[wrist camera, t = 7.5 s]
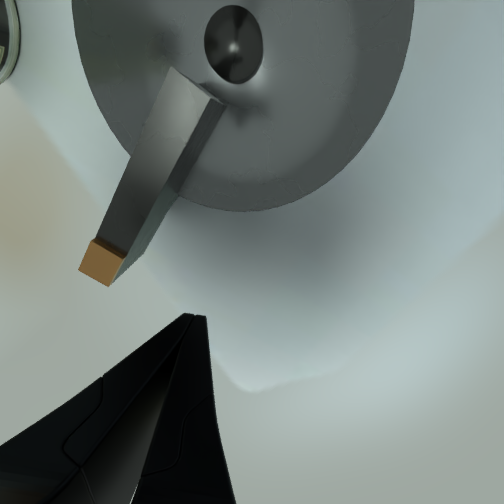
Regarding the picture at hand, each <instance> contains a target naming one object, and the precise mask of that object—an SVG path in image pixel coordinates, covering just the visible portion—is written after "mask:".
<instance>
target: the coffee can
mask: <svg viewBox="0 0 504 504" xmlns="http://www.w3.org/2000/svg"><path fill="white" fill-rule="evenodd" d="M18 52H19V22H18V16H17V11H16V7H15V2H14V0H0V84H1V83H3V82H4V81H5V80H6V79H7V78H8V76H9V75H10V73H11V72H12V70H13V68H14V65H15V62H16V59H17V56H18Z"/></svg>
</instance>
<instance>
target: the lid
mask: <svg viewBox="0 0 504 504" xmlns="http://www.w3.org/2000/svg"><path fill="white" fill-rule="evenodd" d="M72 12H73V20H74V28H75V36H76V40H77V44H78V49H79V53H80V58H81V62H82V65H83V68H84V71H85V74H86V77H87V80H88V83H89V86H90V89H91V91H92V93H93V96H94V98H95V100H96V103H97V105H98V107H99V109H100V111H101V113H102V115H103V116H104V118H105V120H106V122H107V124H108V126H109V127H110V129H111V130H112V132H113V133H114V135H115V136H116V138H117V139H118V141H119V142H120V143H121V145H122V146H123V148H124V149H125V150H126V151H127V152H128V153H129V155H130V156H131V158H130V160H129V162H128V164H127V167H126V169H125V171H124V174H123V176H122V178H121V180H120V183H119V185H118V187H117V189H116V192H115V194H114V196H113V199H112V201H111V203H110V205H109V208H108V210H107V212H106V214H105V217H104V219H103V221H102V224H101V226H100V228H99V230H98V233H97V235H96V237H95V239H93V240H92V241H91V242H90V244H89V246H88V249H87V251H86V253H85V255H84V258H83V260H82V262H81V265H80V267H79V269H78V270H79V271H80V272H82V273H84V274H86V275H88V276H89V277H91V278H93V279H95V280H97V281H98V282H100V283H102V284H104V285H105V286H108V287H109V286H110V285H111V284H112V283H113V282H114V281H115V280H116V279H117V278H118V277H119V276H120V275H121V274H123V273H124V272H125V271H126V270H127V268H129V267H130V266H131V265H132V264H133V263H134V262H135V261H136V260H137V259H138V258H139V257H140V256H141V255H143V254H144V252H145V250H146V248H147V247H148V245H149V243H150V241H151V240H152V238H153V236H154V234H155V233H156V231H157V229H158V227H159V226H160V224H161V222H162V220H163V219H164V217H165V215H166V213H167V211H168V210H169V208H170V206H171V204H172V203H173V201H174V199H175V197H176V196H177V194H178V195H179V196H181V197H184V198H186V199H188V200H190V201H192V202H195V203H198V204H201V205H204V206H207V207H210V208H215V209H221V210H226V211H241V212H247V211H260V210H265V209H270V208H275V207H279V206H282V205H285V204H288V203H291V202H294V201H296V200H298V199H300V198H302V197H304V196H306V195H308V194H310V193H312V192H313V191H315V190H316V189H318V188H319V187H321V186H323V185H324V184H326V183H327V182H328V181H329V180H331V179H332V178H333V177H334V176H335V175H337V174H338V173H339V172H340V171H341V170H342V169H343V168H344V167H345V166H346V165H347V164H348V163H349V162H350V161H351V160H352V159H353V158H354V157H355V156H356V155H357V153H358V152H359V151H360V150H361V148H362V147H363V146H364V144H365V143H366V142H367V140H368V139H369V138H370V136H371V135H372V133H373V131H374V130H375V128H376V127H377V125H378V123H379V122H380V120H381V118H382V117H383V115H384V113H385V111H386V108H387V106H388V104H389V102H390V100H391V98H392V96H393V94H394V91H395V88H396V85H397V83H398V80H399V77H400V74H401V72H402V69H403V65H404V61H405V57H406V53H407V49H408V45H409V41H410V34H411V27H412V20H413V13H414V0H72Z"/></svg>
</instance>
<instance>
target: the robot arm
mask: <svg viewBox="0 0 504 504" xmlns="http://www.w3.org/2000/svg"><path fill="white" fill-rule="evenodd" d="M140 477H141V478H140ZM137 484H138V486H137ZM136 487H137V489H136ZM135 489H136V492H135ZM134 492H135V494H134ZM133 494H134V497H133V500H132V503H131V504H236V501H235V497H234V493H233V489H232V485H231V480H230V477H229V472H228V468H227V464H226V459H225V456H224V451H223V447H222V443H221V438H220V433H219V428H218V423H217V416H216V408H215V399H214V390H213V380H212V369H211V359H210V349H209V339H208V328H207V318H206V316H203V315H194V314H190V313H183V314H182V315H181V316H179V317H178V318H177V319H175V320H174V321H173V322H171V323H170V324H169V325H167V326H166V327H165V328H164V329H162V330H161V331H160V332H158V333H157V334H156V335H154V336H153V337H152V338H151V339H149V340H148V341H147V342H145V343H144V344H143V345H142V346H140V347H139V348H138V349H136V350H135V351H134V352H132V353H131V354H130V355H128V356H127V357H126V358H125V359H123V360H122V361H121V362H119V363H118V364H117V365H115V366H114V367H113V368H112V369H110V370H109V371H108V372H106V373H105V374H104V375H103V377H100V378H98V379H97V380H96V381H94V382H93V383H92V384H91V385H89V386H88V387H87V388H85V389H84V390H82V391H81V392H80V393H79V394H77V395H76V396H74V397H73V398H71V399H70V400H69V401H67V402H66V403H64V404H63V405H62V406H60V407H58V408H57V409H55V410H54V411H52V412H51V413H49V414H48V415H46V416H45V417H43V418H42V419H40V420H39V421H37V422H36V423H35V424H33V425H31V426H30V427H28V428H27V429H25V430H24V431H22V432H21V433H19V434H18V435H16V436H14V437H13V438H11V439H10V440H8V441H7V442H5V443H4V444H2V445H1V446H0V504H130V501H131V499H132V496H133Z"/></svg>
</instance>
